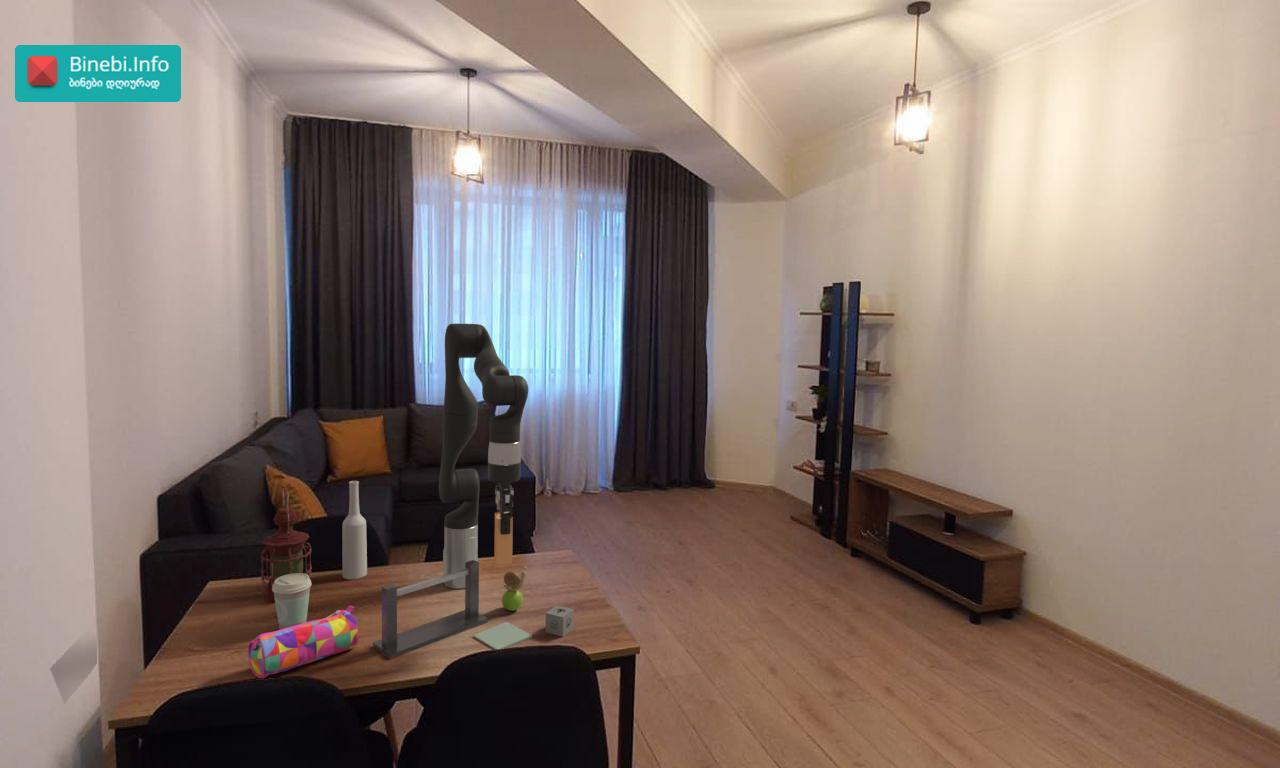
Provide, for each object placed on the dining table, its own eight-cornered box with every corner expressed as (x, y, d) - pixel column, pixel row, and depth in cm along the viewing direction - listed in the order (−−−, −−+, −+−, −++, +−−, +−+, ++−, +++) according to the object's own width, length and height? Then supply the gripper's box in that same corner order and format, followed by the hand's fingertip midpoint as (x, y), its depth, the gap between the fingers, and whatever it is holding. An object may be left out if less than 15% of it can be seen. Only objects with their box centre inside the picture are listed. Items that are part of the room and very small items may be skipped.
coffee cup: (274, 621, 163) (273, 574, 162) (313, 616, 166) (312, 570, 165) (270, 637, 155) (269, 587, 154) (311, 631, 158) (310, 583, 157)
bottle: (350, 570, 197) (349, 478, 194) (371, 571, 196) (370, 479, 193) (337, 578, 190) (336, 483, 188) (359, 580, 189) (358, 485, 187)
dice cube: (573, 628, 164) (573, 609, 164) (563, 637, 160) (563, 617, 159) (556, 624, 166) (556, 605, 166) (545, 632, 162) (545, 613, 161)
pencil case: (343, 636, 157) (343, 600, 156) (364, 649, 151) (363, 611, 150) (243, 672, 140) (242, 631, 139) (262, 689, 134) (261, 646, 133)
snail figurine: (521, 615, 170) (522, 570, 169) (498, 612, 171) (498, 568, 170) (529, 607, 175) (529, 563, 174) (506, 604, 177) (507, 561, 176)
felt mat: (473, 636, 158) (473, 635, 158) (507, 623, 166) (507, 621, 166) (497, 651, 152) (497, 649, 152) (532, 636, 159) (532, 635, 159)
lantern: (316, 597, 177) (314, 488, 174) (265, 608, 170) (262, 494, 167) (307, 582, 187) (305, 479, 184) (258, 592, 180) (255, 484, 177)
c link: (494, 556, 159) (494, 512, 158) (509, 555, 160) (510, 511, 159) (496, 564, 154) (497, 519, 153) (512, 563, 155) (512, 518, 154)
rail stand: (372, 646, 152) (372, 583, 151) (469, 612, 171) (469, 556, 170) (389, 659, 147) (389, 594, 145) (487, 622, 166) (488, 564, 165)
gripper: (485, 454, 160) (484, 522, 162) (491, 467, 147) (490, 541, 148) (516, 453, 163) (515, 520, 164) (524, 466, 149) (523, 538, 151)
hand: (503, 529), depth 156 cm, fingers closed on c link, 5 cm apart
